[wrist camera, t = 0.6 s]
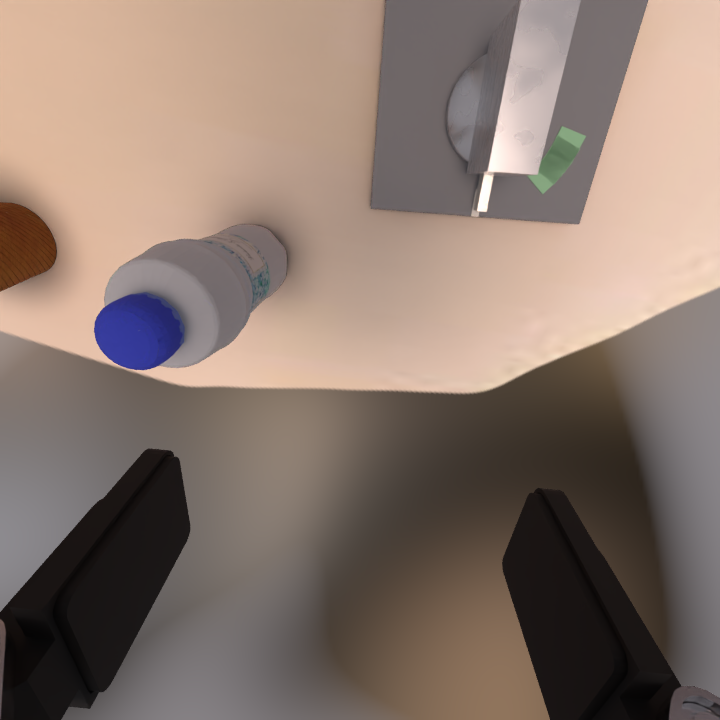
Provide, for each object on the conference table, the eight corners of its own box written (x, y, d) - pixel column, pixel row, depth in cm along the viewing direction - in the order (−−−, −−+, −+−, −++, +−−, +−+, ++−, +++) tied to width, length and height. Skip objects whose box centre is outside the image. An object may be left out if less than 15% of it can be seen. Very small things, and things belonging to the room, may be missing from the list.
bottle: (306, 242, 33) (218, 313, 15) (277, 305, 36) (174, 430, 18) (235, 204, 32) (49, 231, 14) (212, 272, 35) (30, 370, 17)
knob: (559, 47, 25) (620, 2, 19) (519, 213, 30) (558, 221, 23) (456, 40, 25) (482, -8, 19) (432, 206, 30) (447, 213, 23)
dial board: (387, -12, 25) (387, -24, 24) (635, 5, 25) (650, -6, 24) (370, 207, 31) (370, 208, 30) (570, 222, 31) (579, 224, 30)
